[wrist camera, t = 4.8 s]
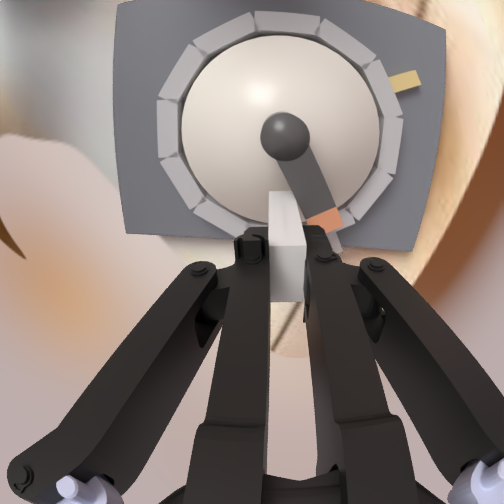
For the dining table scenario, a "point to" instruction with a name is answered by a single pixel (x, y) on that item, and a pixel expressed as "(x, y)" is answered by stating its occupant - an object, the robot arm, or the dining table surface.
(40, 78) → the dining table surface
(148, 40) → the panel
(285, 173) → the dial
